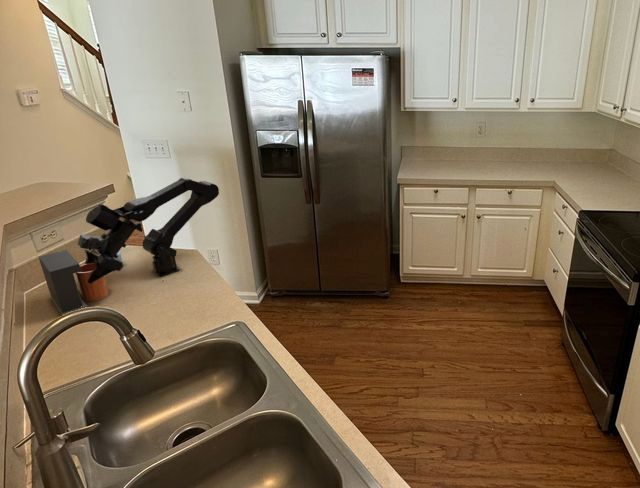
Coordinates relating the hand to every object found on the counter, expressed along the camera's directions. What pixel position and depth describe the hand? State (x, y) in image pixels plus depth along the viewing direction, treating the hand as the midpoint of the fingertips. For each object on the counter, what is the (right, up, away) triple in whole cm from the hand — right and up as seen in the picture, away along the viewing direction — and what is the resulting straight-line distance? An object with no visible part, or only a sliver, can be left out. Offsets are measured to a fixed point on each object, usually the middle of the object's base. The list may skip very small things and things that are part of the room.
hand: (85, 278), depth 135 cm
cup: (+1, -6, +3) cm, 7 cm away
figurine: (-6, +1, +21) cm, 22 cm away
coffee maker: (-4, -8, -2) cm, 9 cm away
